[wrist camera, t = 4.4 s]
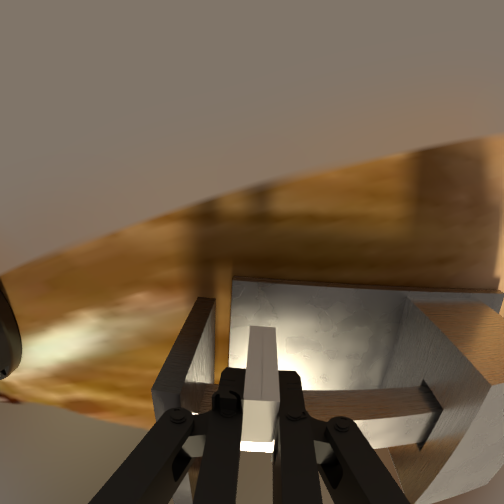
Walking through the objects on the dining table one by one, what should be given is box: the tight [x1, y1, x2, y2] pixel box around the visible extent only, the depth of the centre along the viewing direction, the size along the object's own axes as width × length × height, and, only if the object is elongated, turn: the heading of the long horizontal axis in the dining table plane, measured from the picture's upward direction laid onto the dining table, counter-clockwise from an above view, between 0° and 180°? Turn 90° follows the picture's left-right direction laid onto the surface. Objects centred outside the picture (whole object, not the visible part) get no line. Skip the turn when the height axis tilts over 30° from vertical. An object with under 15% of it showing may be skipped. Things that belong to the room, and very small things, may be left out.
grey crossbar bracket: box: [151, 297, 444, 504], centre depth 17 cm, size 27×12×10 cm, turn 86°
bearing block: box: [229, 276, 504, 504], centre depth 19 cm, size 26×13×13 cm, turn 86°
